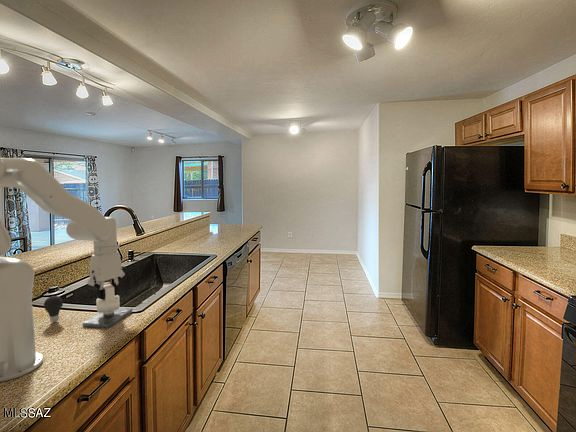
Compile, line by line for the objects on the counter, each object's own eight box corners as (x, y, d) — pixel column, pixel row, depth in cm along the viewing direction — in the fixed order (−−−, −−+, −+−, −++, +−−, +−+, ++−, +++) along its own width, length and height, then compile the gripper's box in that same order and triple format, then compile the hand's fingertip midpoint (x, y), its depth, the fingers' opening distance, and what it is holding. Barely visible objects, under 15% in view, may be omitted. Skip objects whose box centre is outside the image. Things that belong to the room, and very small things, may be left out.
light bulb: (67, 319, 115) (66, 294, 114) (55, 326, 109) (53, 299, 108) (54, 318, 115) (52, 293, 114) (40, 325, 110) (39, 298, 109)
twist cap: (122, 308, 115) (121, 285, 114) (99, 314, 110) (98, 289, 109) (116, 302, 121) (115, 280, 120) (94, 308, 115) (93, 284, 114)
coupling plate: (108, 328, 108) (108, 317, 108) (82, 326, 109) (82, 316, 109) (132, 312, 122) (131, 302, 122) (109, 310, 123) (108, 301, 123)
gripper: (119, 245, 122) (121, 288, 124) (76, 253, 107) (78, 302, 109) (132, 246, 119) (134, 291, 121) (89, 255, 104) (91, 306, 106)
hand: (107, 296), depth 115 cm, fingers closed on twist cap, 4 cm apart
